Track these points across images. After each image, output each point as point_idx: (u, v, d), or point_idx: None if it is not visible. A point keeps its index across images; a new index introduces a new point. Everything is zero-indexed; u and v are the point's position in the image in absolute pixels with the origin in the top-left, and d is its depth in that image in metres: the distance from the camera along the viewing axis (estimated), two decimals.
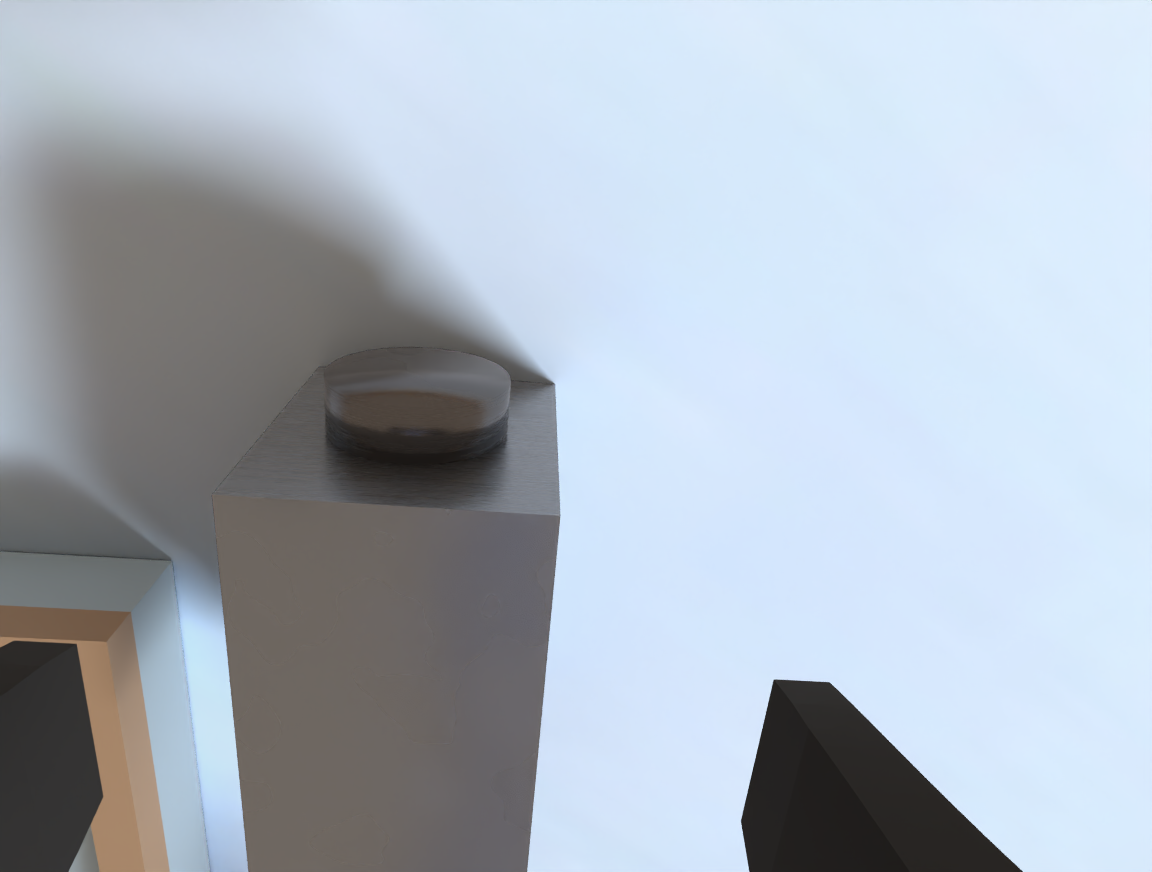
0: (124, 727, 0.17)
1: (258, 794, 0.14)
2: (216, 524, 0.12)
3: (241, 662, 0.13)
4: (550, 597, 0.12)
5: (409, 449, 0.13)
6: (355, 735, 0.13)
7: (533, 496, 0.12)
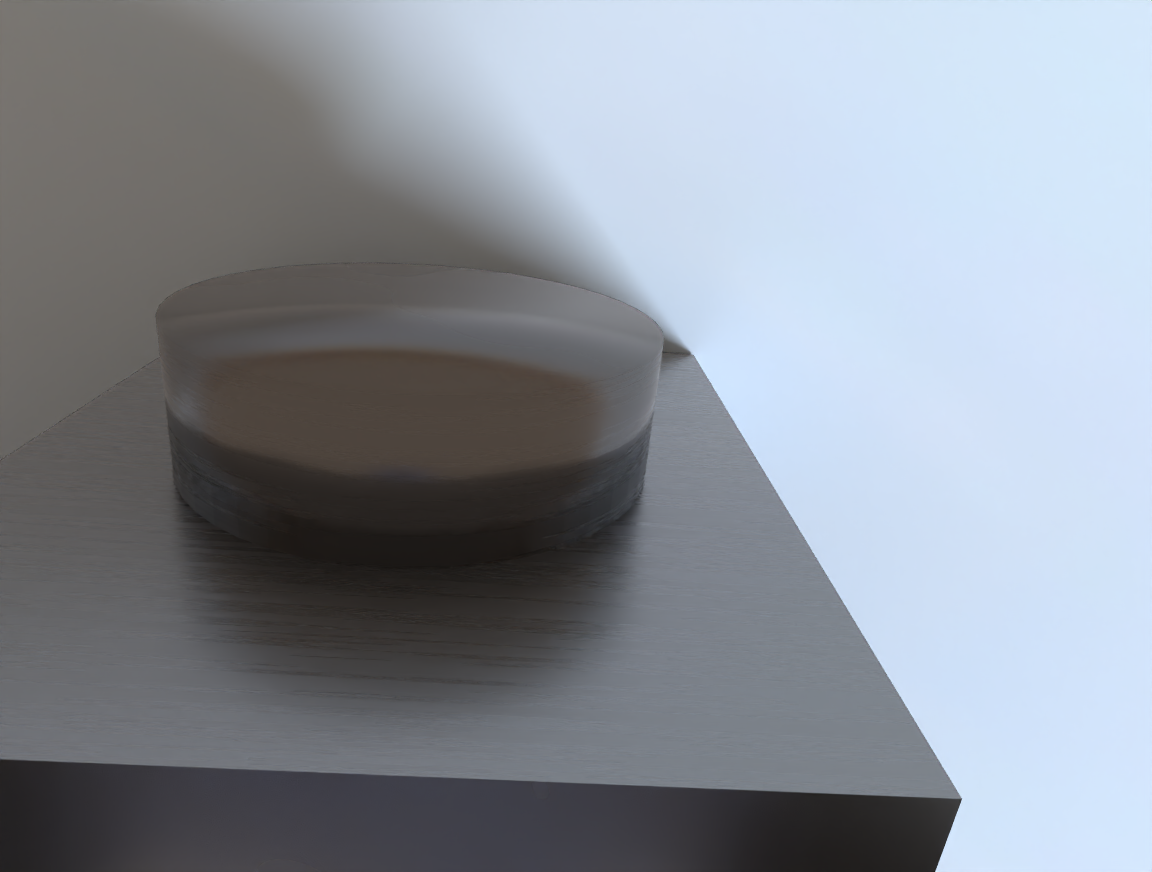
0: None
1: None
2: None
3: None
4: None
5: (395, 523, 0.04)
6: None
7: (815, 695, 0.04)
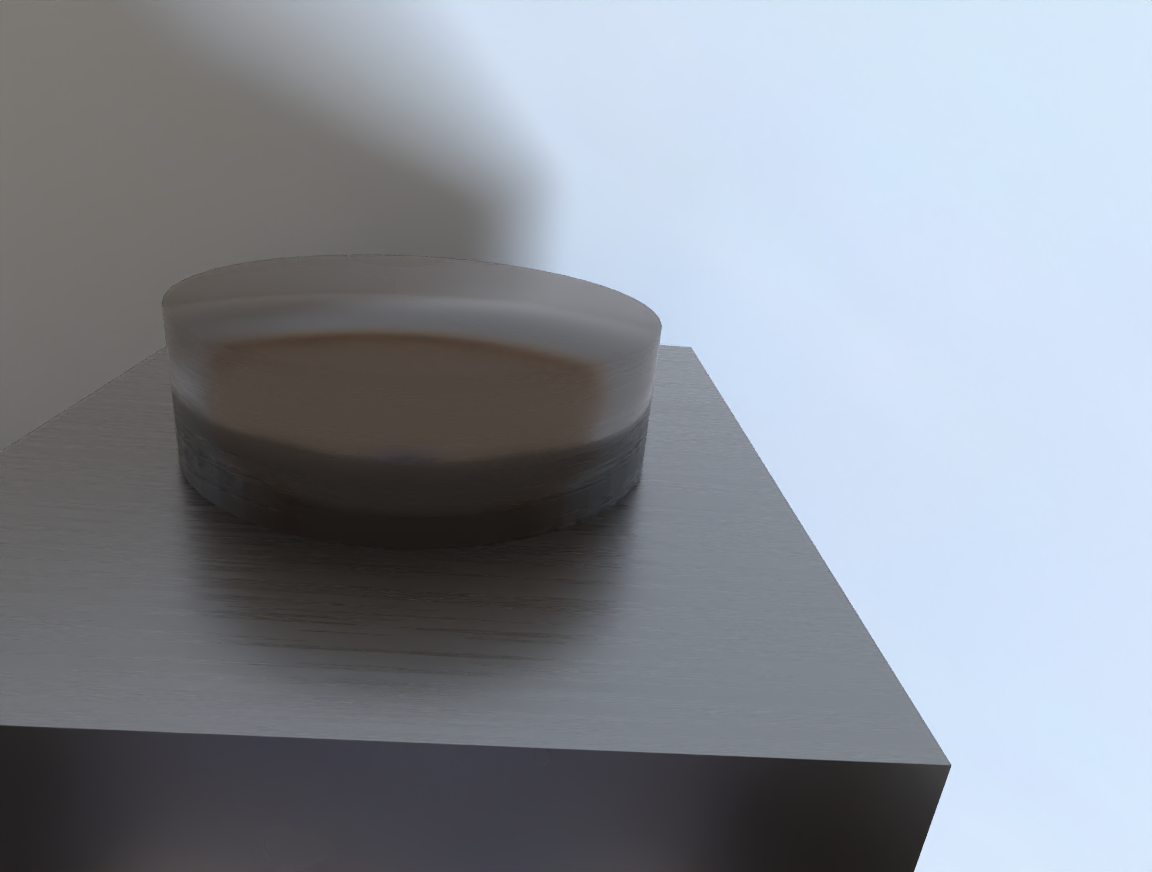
0: None
1: None
2: None
3: None
4: None
5: (398, 504, 0.04)
6: None
7: (810, 670, 0.04)
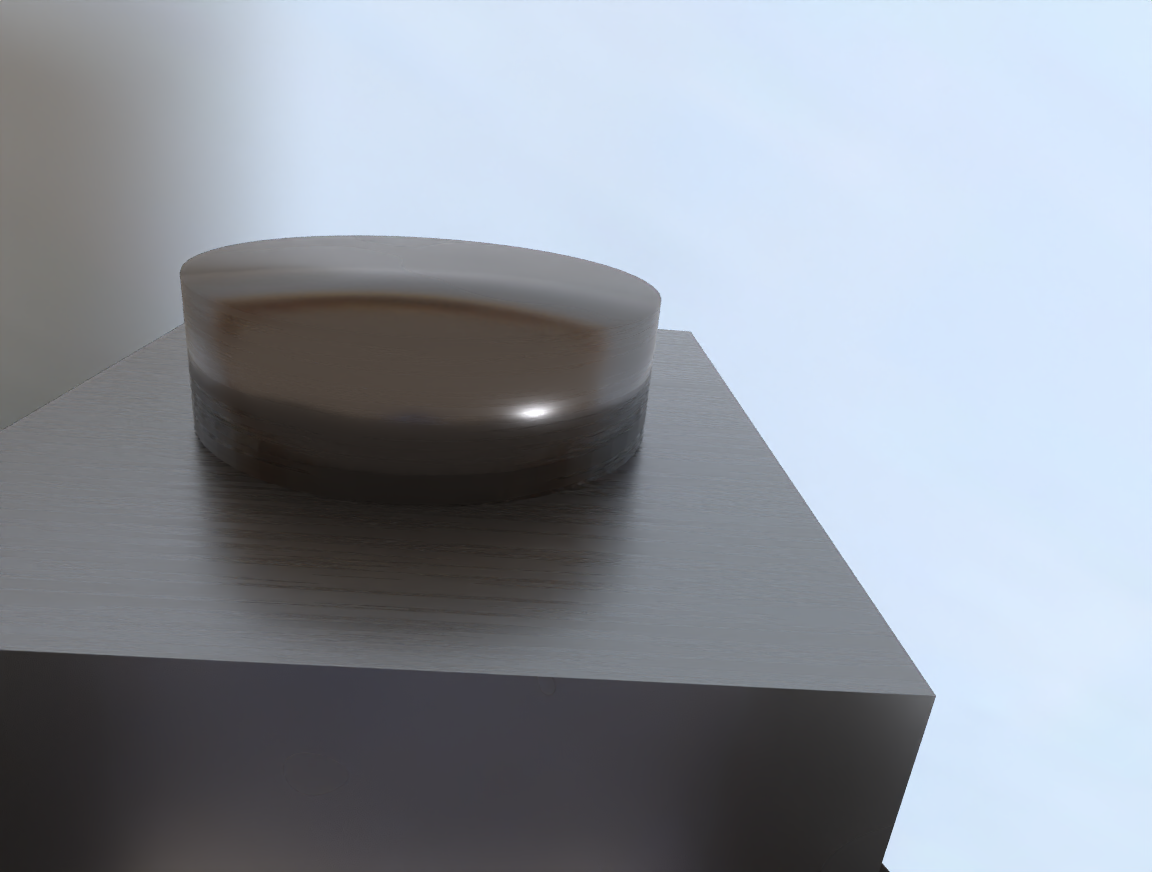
0: None
1: None
2: None
3: None
4: None
5: (408, 461, 0.04)
6: None
7: (804, 612, 0.04)
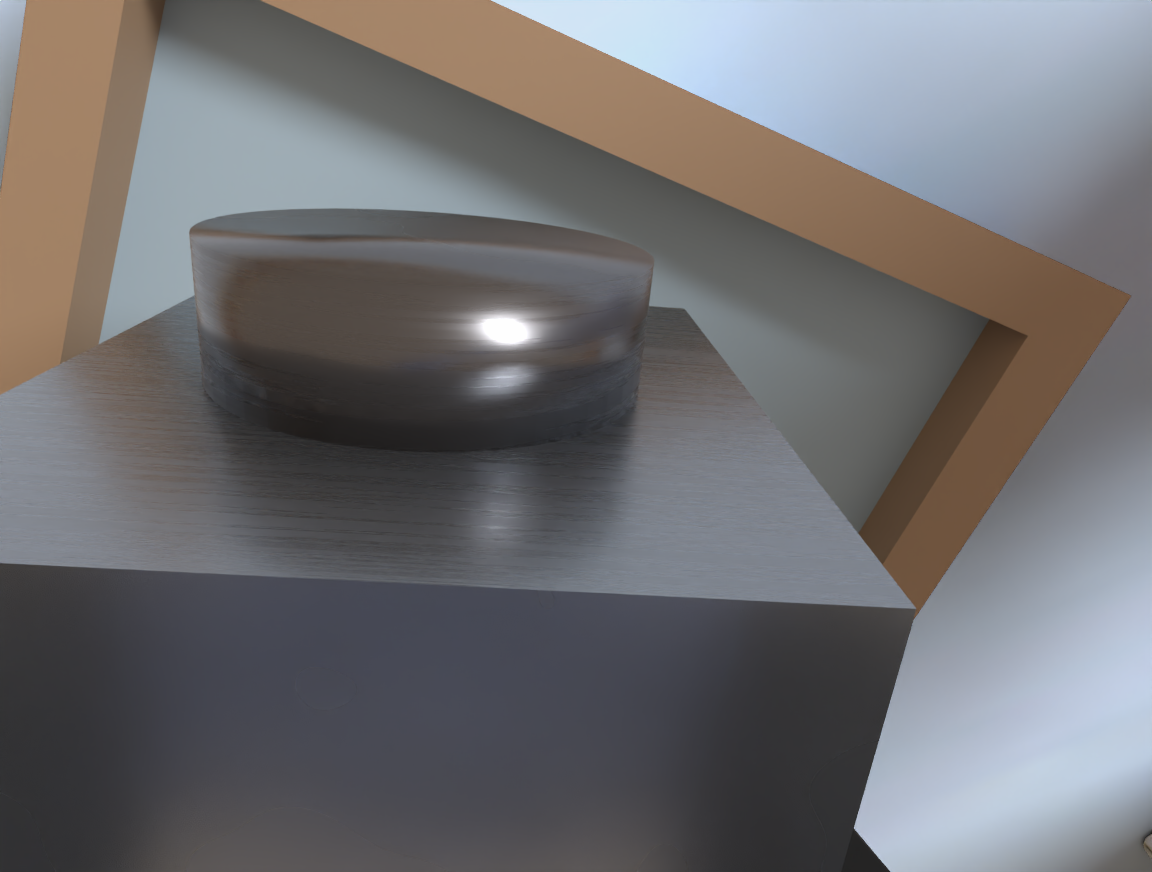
0: None
1: None
2: None
3: None
4: (839, 846, 0.04)
5: (411, 408, 0.05)
6: None
7: (790, 543, 0.04)
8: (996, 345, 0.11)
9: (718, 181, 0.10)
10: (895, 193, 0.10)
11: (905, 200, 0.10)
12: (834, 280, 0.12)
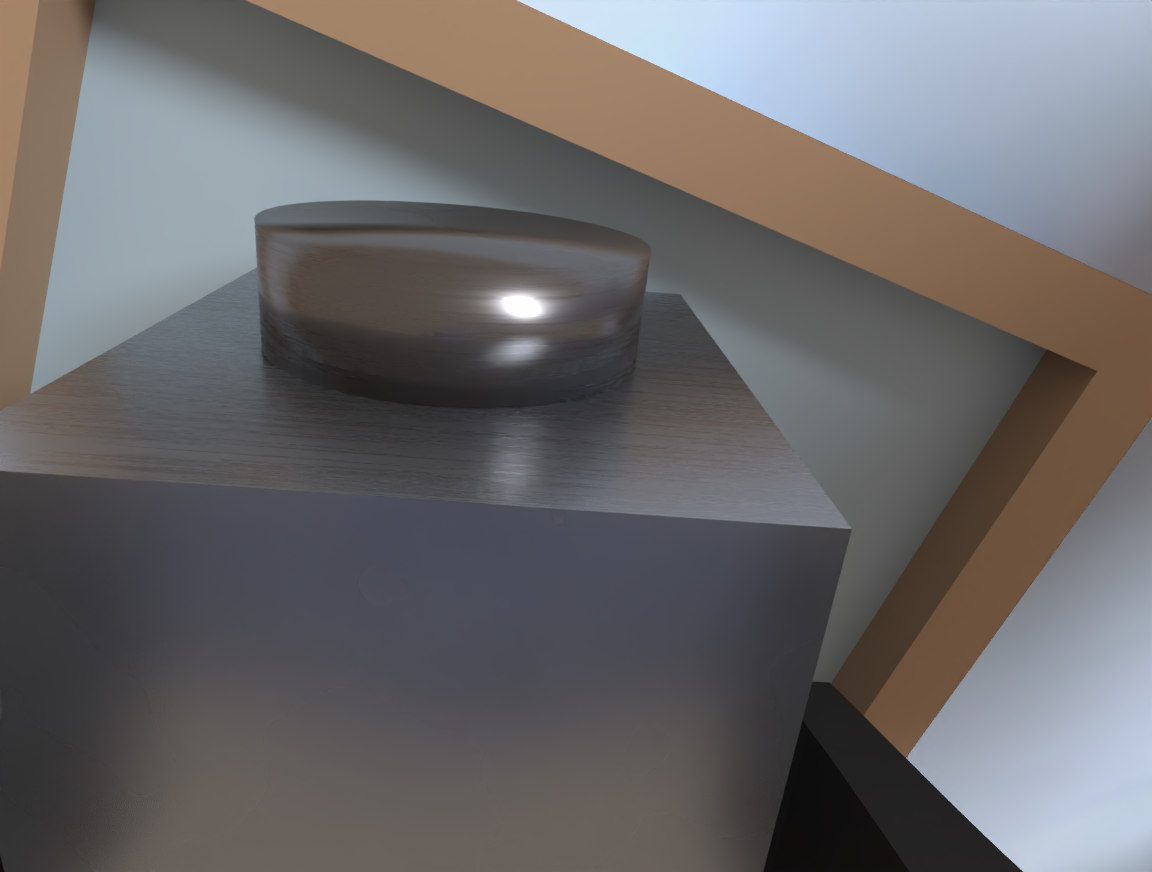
0: None
1: None
2: None
3: None
4: (793, 729, 0.05)
5: (445, 370, 0.05)
6: None
7: (756, 481, 0.05)
8: (1057, 380, 0.10)
9: (744, 195, 0.09)
10: (950, 209, 0.09)
11: (961, 216, 0.09)
12: (872, 306, 0.10)
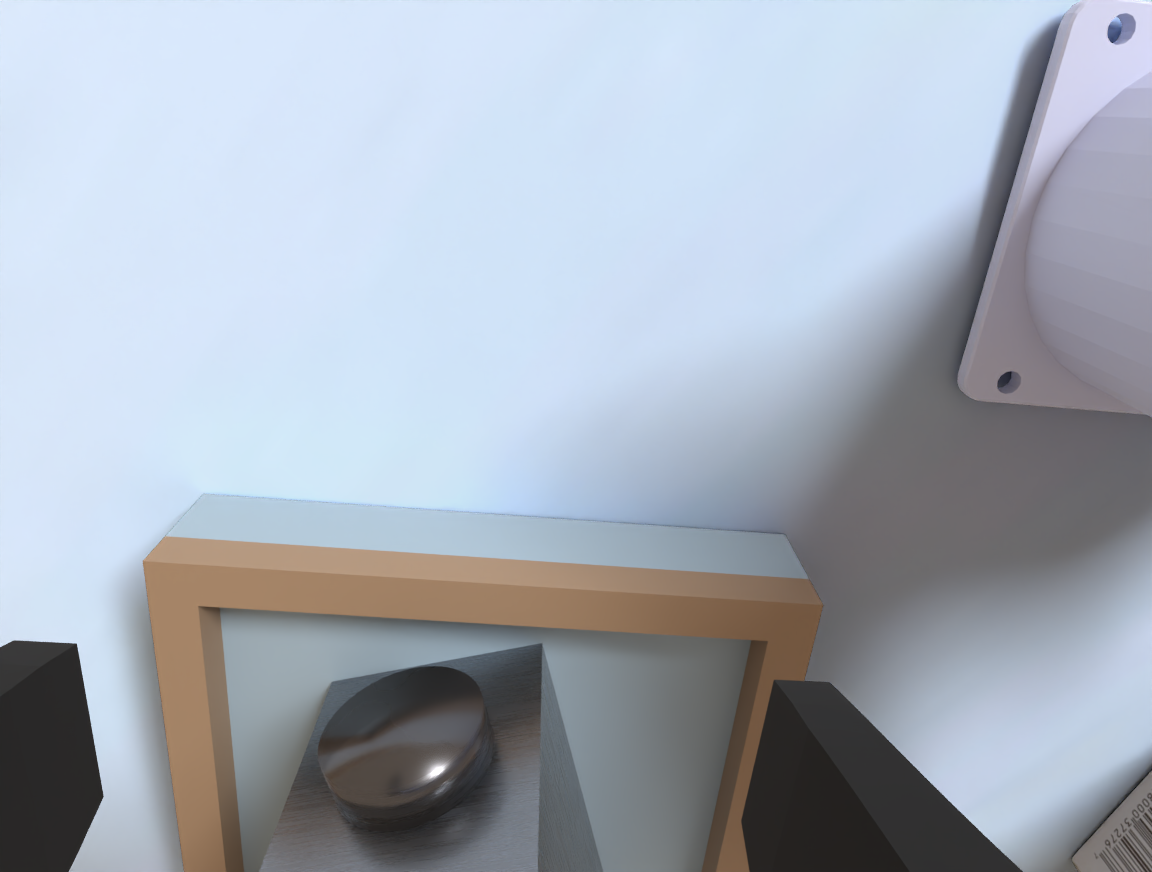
0: (261, 565, 0.16)
1: None
2: None
3: None
4: None
5: (401, 818, 0.14)
6: None
7: (514, 852, 0.13)
8: None
9: (543, 619, 0.17)
10: (649, 597, 0.17)
11: (658, 596, 0.17)
12: None
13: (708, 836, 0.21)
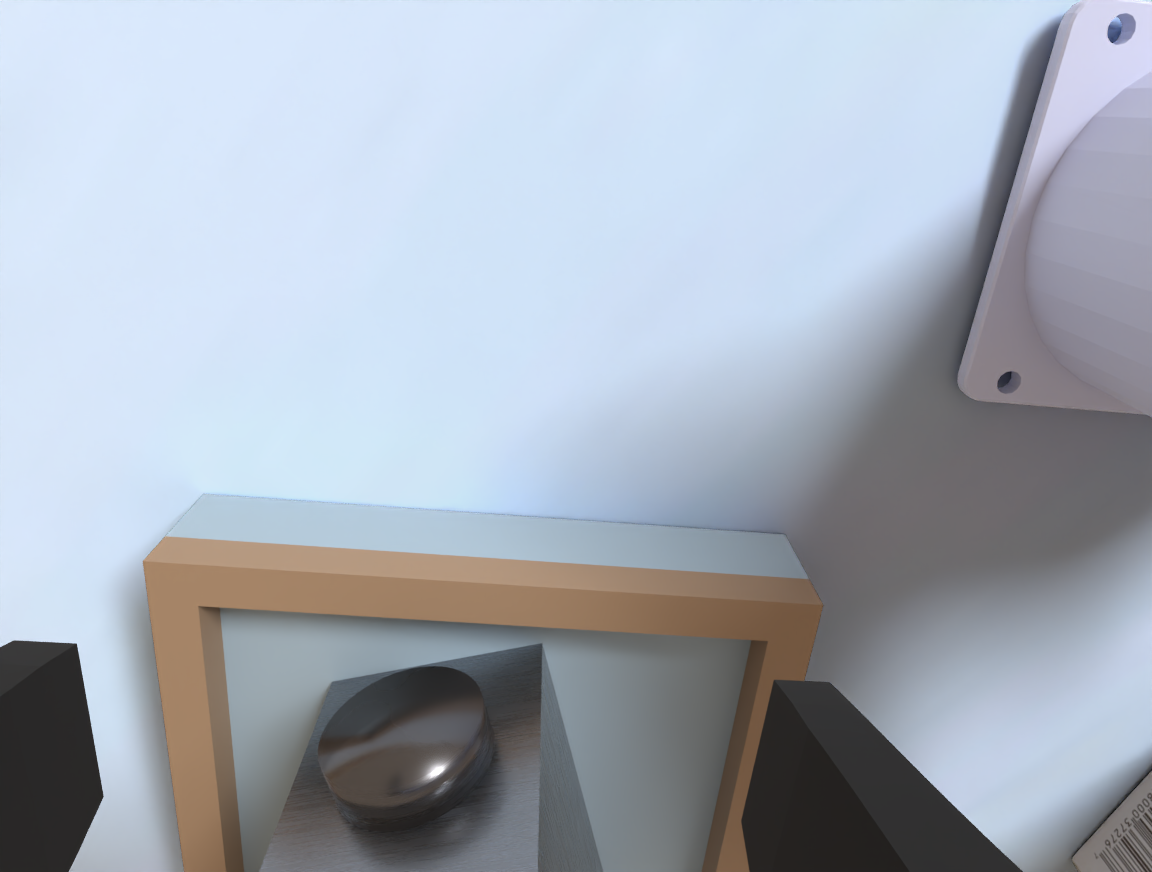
0: (261, 565, 0.16)
1: None
2: None
3: None
4: None
5: (401, 818, 0.14)
6: None
7: (514, 852, 0.13)
8: None
9: (543, 619, 0.17)
10: (649, 597, 0.17)
11: (658, 597, 0.17)
12: None
13: (708, 836, 0.21)
